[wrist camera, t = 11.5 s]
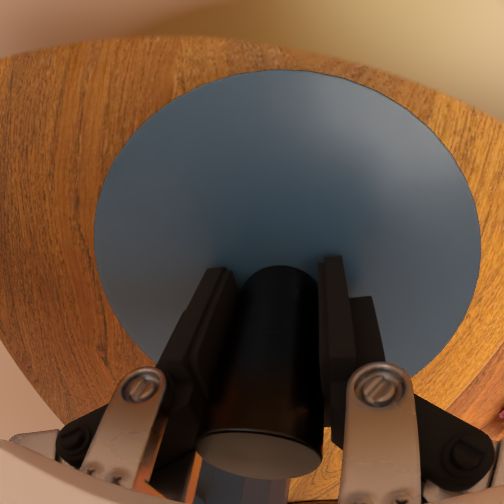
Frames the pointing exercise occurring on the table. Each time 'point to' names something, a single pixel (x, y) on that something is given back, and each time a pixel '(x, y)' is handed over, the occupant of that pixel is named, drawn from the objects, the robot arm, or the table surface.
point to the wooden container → (318, 502)
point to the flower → (501, 414)
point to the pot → (237, 488)
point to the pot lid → (285, 244)
